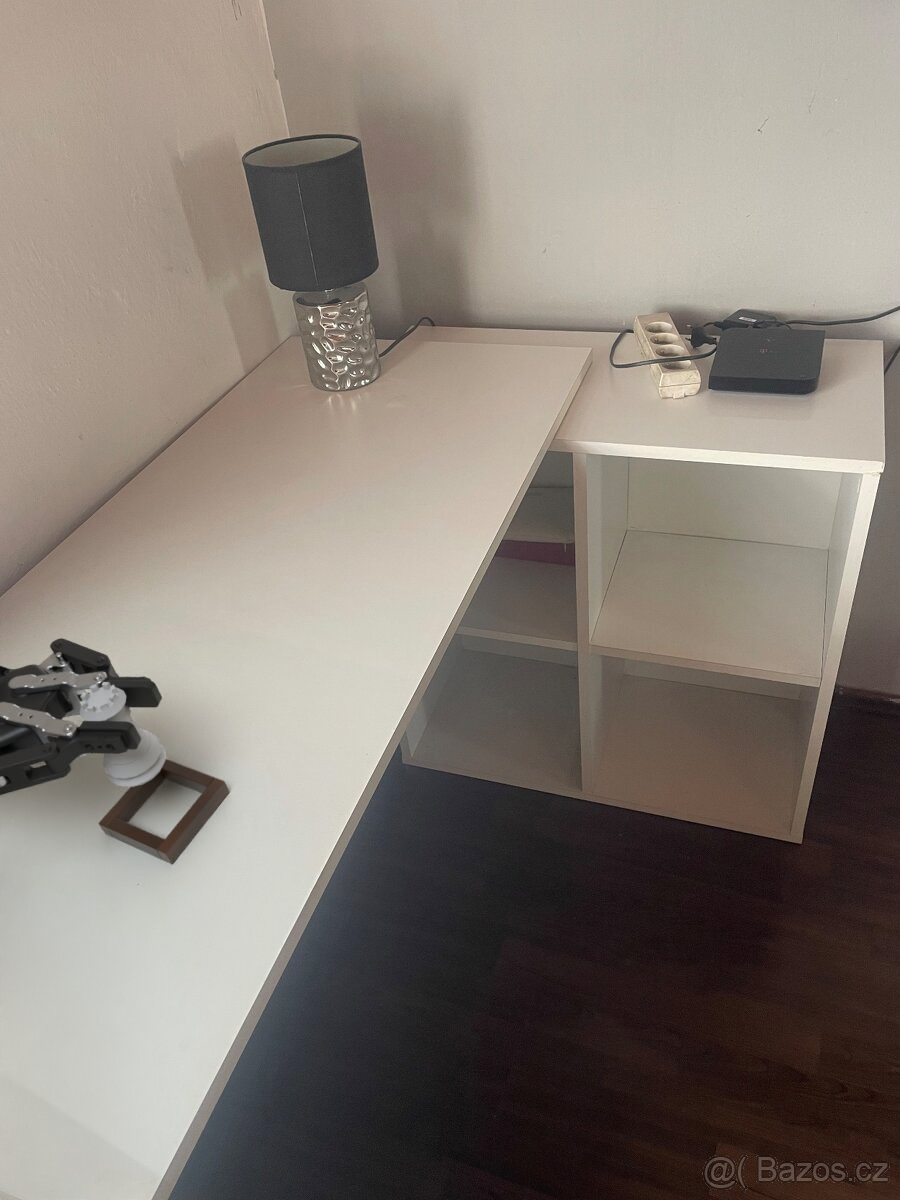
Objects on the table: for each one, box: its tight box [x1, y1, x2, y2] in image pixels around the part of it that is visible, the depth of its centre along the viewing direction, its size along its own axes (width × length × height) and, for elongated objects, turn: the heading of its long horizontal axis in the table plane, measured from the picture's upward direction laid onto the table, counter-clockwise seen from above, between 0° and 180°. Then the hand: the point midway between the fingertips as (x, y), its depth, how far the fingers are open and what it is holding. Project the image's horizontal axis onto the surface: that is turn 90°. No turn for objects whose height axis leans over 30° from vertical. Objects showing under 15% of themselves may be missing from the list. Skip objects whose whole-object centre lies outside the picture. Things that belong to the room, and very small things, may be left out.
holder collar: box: [98, 758, 230, 865], centre depth 69 cm, size 7×7×2 cm
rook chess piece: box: [79, 682, 167, 788], centre depth 63 cm, size 4×4×8 cm
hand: (145, 713), depth 61 cm, fingers closed on rook chess piece, 3 cm apart
